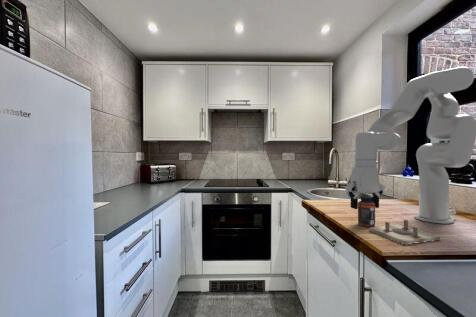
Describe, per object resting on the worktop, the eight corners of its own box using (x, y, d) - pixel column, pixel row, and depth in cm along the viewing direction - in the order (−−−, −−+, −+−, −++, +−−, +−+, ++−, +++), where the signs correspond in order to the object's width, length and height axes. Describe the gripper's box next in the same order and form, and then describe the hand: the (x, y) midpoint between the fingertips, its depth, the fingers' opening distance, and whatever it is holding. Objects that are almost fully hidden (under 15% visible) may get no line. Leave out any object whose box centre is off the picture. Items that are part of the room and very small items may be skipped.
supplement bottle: (377, 227, 91) (377, 198, 90) (360, 227, 92) (360, 197, 92) (372, 223, 97) (372, 195, 96) (356, 222, 98) (356, 194, 97)
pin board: (400, 227, 91) (400, 216, 91) (439, 240, 77) (439, 227, 77) (369, 230, 87) (369, 219, 87) (404, 245, 74) (404, 231, 74)
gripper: (376, 163, 99) (375, 204, 100) (340, 163, 95) (339, 206, 95) (392, 164, 92) (391, 209, 92) (353, 164, 88) (352, 211, 88)
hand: (364, 207), depth 94 cm, fingers open, 9 cm apart
